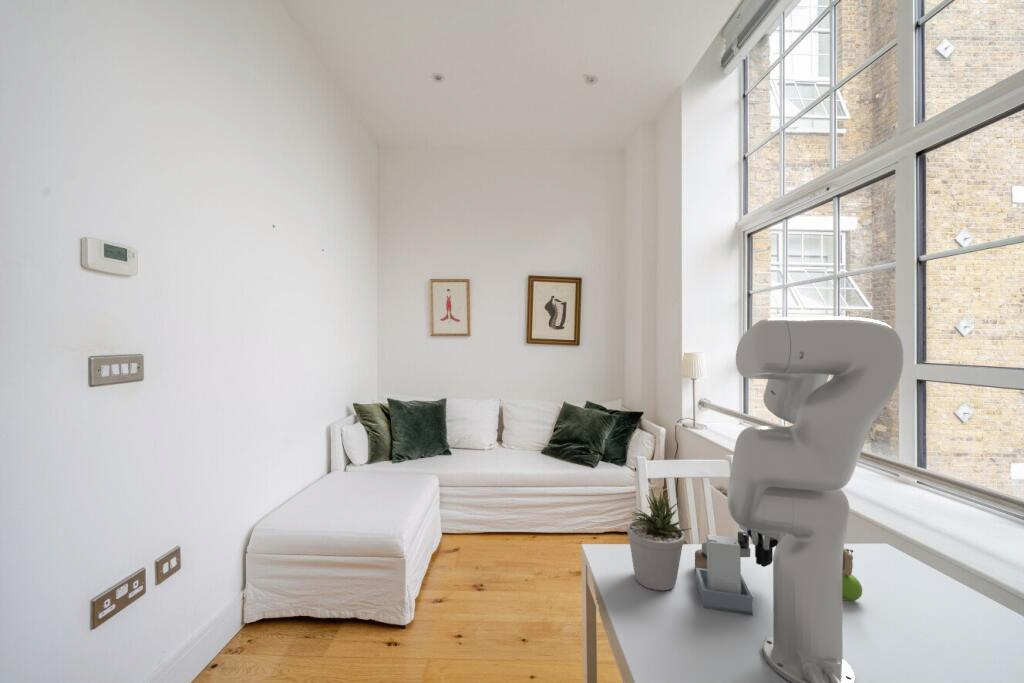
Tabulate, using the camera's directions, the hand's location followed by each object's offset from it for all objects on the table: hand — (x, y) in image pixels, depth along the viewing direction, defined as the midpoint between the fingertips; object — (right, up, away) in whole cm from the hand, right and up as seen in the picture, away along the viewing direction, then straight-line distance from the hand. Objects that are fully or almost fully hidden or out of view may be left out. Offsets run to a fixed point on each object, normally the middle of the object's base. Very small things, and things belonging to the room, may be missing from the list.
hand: (763, 563), depth 93 cm
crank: (-6, -1, +5) cm, 8 cm away
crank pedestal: (-9, -5, +5) cm, 11 cm away
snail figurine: (+15, -5, -5) cm, 16 cm away
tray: (-12, -5, -5) cm, 14 cm away
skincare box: (-12, -4, -5) cm, 14 cm away
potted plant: (-23, -5, +2) cm, 24 cm away
